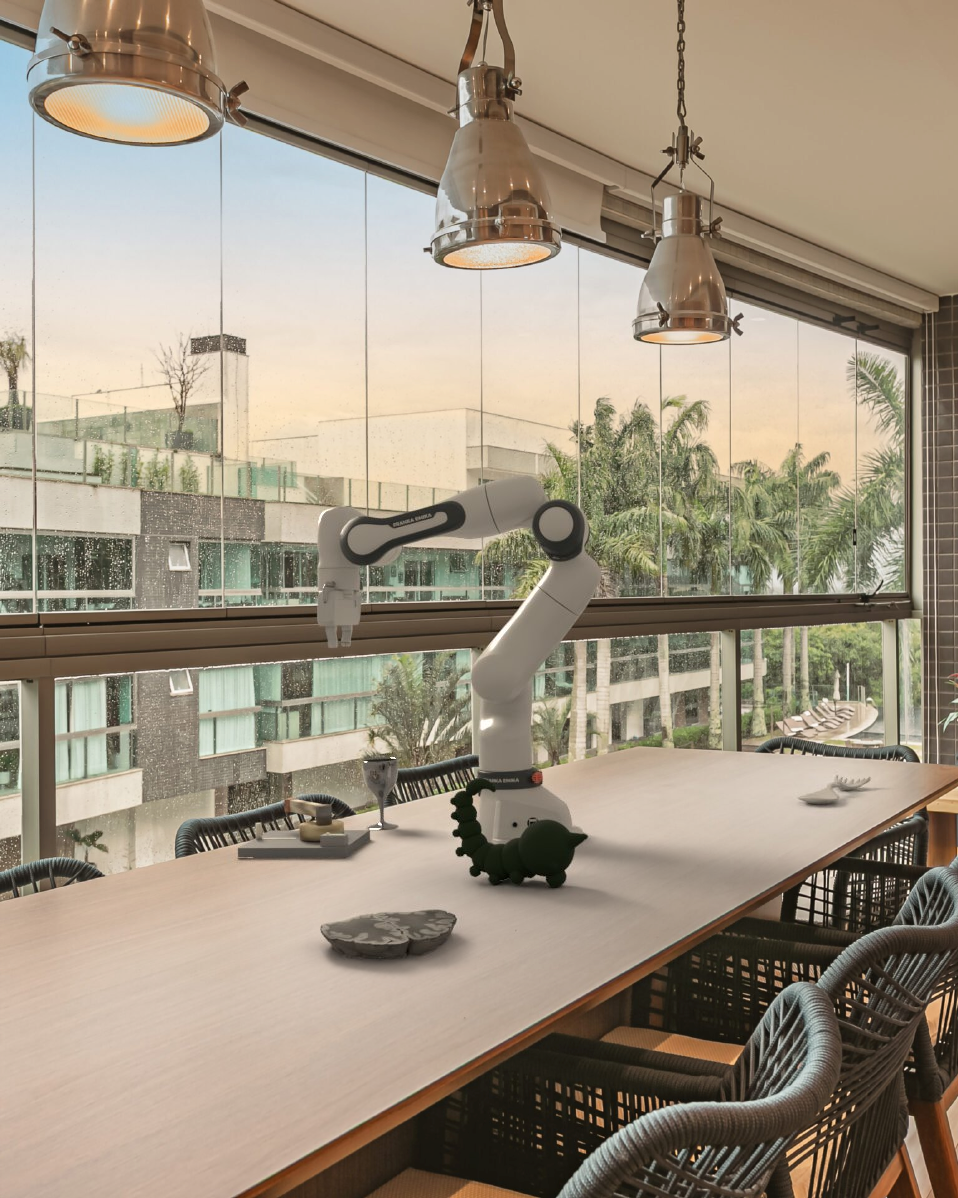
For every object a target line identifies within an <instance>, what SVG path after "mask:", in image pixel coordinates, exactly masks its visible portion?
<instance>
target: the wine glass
mask: <svg viewBox="0 0 958 1198" xmlns="http://www.w3.org/2000/svg"><path fill="white" fill-rule="evenodd" d="M361 764H362V765H361V767H362V775H363V780H364V783H365V786H366V787H367V788H368V790H369V791H370V792H371V793H372V794H373V796H374V797H375V798H376V800H377V802H378V807H379V815H380V817H379V818H380V819H379V820H380V821H379V822H377V823H375V824H371V825H368V826H369V827H368V826H367V827H368V828H369V829H368V830H370V831H387V830H388V831H389V830H394V829H396V828H399V825H398V824H394V823H389V822H387V821H385V819H384V817H385V816H384V814H385V813H384V812H385V811H384V810H385V803H386V802H385V801H386V799H387V797H388V795H389V794H390V793H391V791H392V790H393V789H394V787H395V785H396V784H397V780H398V775H399V773H398V772H399V759H398V757H391V756H384V757H383V756H379V757H370V758H364V759H362V760H361Z"/></svg>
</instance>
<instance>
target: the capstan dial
mask: <svg viewBox="0 0 958 1198" xmlns="http://www.w3.org/2000/svg"><path fill="white" fill-rule="evenodd" d="M283 802H284V812H285V813H295V814H300V815H303V816H304V815H305V816H309V817H314V818H315V820H309V821H305V822H301V823H299V825H298V828H299V829H298V830H299V835H300V839H301V840H305V841H320V836H321V835H323V834H326V833H327V832H329V833H330V834H344V830H345V822H344V821H342V820H339V819H338V820H337V819H333V812H332V804H331V803H330V804H328V803H325V804H323V803H318V802H312V801H306V800H302V799H298V798H296V797H291V798H284V799H283Z"/></svg>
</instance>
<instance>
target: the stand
mask: <svg viewBox="0 0 958 1198" xmlns="http://www.w3.org/2000/svg"><path fill="white" fill-rule="evenodd" d="M262 827H263V826H262V822H255V838H254V839H252V840H250V841H248V842H246V843H244V844H242V845H241V846H239V847H237V858H238V857H253V858H252V859H346V858H348V857H349V856H351V855H352V854H353V853H354V852H356V851H357V850H358V849H360V848H361V847H362V846H364V845H365V844H366V843H368V842H369V841H371V830H369V829H363V830H362V829H349V830H348V829H344V834H330V833H329V832H327V833H326V834H323V835H321V836H320V841H305V840H301V839H300V835H299V829H298V830H296V829H294V830H291V829H290V830H269V831H266V832H265V833H263V831H262V829H263V828H262ZM262 833H263V834H262Z"/></svg>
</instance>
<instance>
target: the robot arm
mask: <svg viewBox="0 0 958 1198" xmlns="http://www.w3.org/2000/svg"><path fill="white" fill-rule="evenodd" d="M518 529H529V530H531V531H532V535H533V537H534V540H535V541H536V543H537V544H538V546H539V547H540V548H541V549H542V550H543V552H544V553H545V555H546V556H547V558H548V559H549V561H550V562H549V565H548V568H547V570H546V571H545V572H544V574H543V576H542V577H541V578H540V579H539V581H538V582H537V583H536V585H535V586H534V587H533V588H532V590H531V591H530V593H529V594H528V595H527V597H526V598H525V599H524V600H523V602H522V604H521V605H520V606H519V608H518V609H517V610H516V612H514V614H513V616H512V617H511V618H510V619H509V620H508V621H507V622H506V624H505V625H503V627H502V628H501V629H500V631H499V632H498V633H497V634H496V635H495V637H494V638H493V639H492V640H491V642H490V643H489V644H488V645H487V647H485V649H484V650H483V652H482V653H481V654H480V655H479V657H478V658H477V659H476V660H475V662H474V664H473V665H472V668H471V672H470V682H471V685H472V688H473V690H474V692H475V693H476V695H477V696H478V697H480V707H479V721H478V729H477V745H478V747H477V748H478V769H477V770H476V773H477V774H476V778H483V779H487V780H489V781H490V782H491V783H492V784H493V785H494V786H495V788H496V791H495V792H492V791H491V790H489V789H482V790H481V791H480V792H479V793H477V795H478V797H479V798H478V800H479V801H478V811H477V818H476V820H478V821H479V823H480V825H481V828H482V832H481V833H482V834H483V835H484V836H485V837H486V839H487V841H488V843H491V844H494V845H495V844H506V843H507V842H509V841H510V840H512V839H514V838H520V837H521V835H522V833H523V832H524V830H525V829H526V828H527V827H528V826H530V825H531V824H532V823H534V822H536V821H539V820H545V819H549V820H554V821H557V822H559V823H561V824H562V825H564V826H565V827H566V828H567V829H568V830H569V831H570V832H572V833H580V834H584V832H583V828H582V827H581V826H578V825H573V821H572V820H573V819H572V816H571V812H570V809H569V806H568V804H567V803H566V802H565V801H564V800H563V799H561V798H560V797H559V796H557V795H555V794H554V793H553V792H552V791H550V790H549V789H548V788H546V787H544V786H543V781H544V778H543V777H544V775H543V771H542V770H541V769H537V768H536V767H534V766H533V752H532V751H533V750H532V747H533V746H532V716H533V712H532V711H533V677H534V676H535V675H536V673H537V672H538V670H539V669H540V668H541V667H542V665H543V664H544V663H545V661H546V660H547V659H548V658H549V656H551V654H552V653H553V652H554V651H555V649H557V647H558V646H559V645H560V643H561V642H562V641H563V639H564V638H565V637H566V636H567V634H568V632H569V631H570V630H571V628H572V627H573V626H574V625H575V624H576V621H577V620H578V619H579V617H580V616H581V615H582V613H583V612H584V611H585V609H586V608H587V607H588V605H589V603H590V602H591V600H592V598H593V596H594V594H595V593H596V591H597V590H598V587H599V585H600V582H601V579H602V571H601V569H600V566H599V565H598V563H597V562H596V560H595V559H593V557H591V556H590V555H589V554H588V553H587V551H586V549H585V548H586V545H587V544H588V542H589V539H590V537H591V536H590V535H591V527H590V524H589V521H588V518H587V516H586V514H585V512H584V511H583V509H581V508H580V507H579V506H578V505H576V504H575V503H573V502H572V501H569V500H566V499H560V498H558V499H557V498H556V499H551V500H550V499H549V498H548V497H547V494H546V492H545V489H544V487H543V486H542V483H541V482H540V481H539V480H538V479H537V478H536V477H535V476H531V475H527V474H526V475H517V476H509V477H503V478H499V479H495V480H491V481H487V482H485V483H481V484H479V485H475V486H473V487H471V488H468V489H466V490H463V491H461V492H458V493H457V494H455V495H452V496H450V497H448V498H445V499H444V500H442V501H439V502H436V503H435V504H432V505H428V506H426V507H422V508H418V509H415V510H411V511H406V512H404V513H401V514H397V515H392V516H389V517H382V518H381V517H375V516H369V515H366V514H364V513H363V512H361V511H359V510H358V509H356V508H355V507H354V506H352V505H342V506H341V505H340V506H339V505H338V506H333V507H331V508H328V509H325V510H324V511H322V513H320V516H319V519H318V524H317V536H316V537H317V538H316V539H317V540H316V541H317V544H316V545H317V546H316V547H317V552H318V556H319V557H318V558H319V560H318V565H317V591H318V595H317V611H316V612H317V613H316V616H317V617H316V620H317V624H318V626H319V627H325V629H324V630H325V634H326V638H327V648H329V649H336V648H337V649H338V647H339V639H338V636H337V634H338V633H337V631H338V626H339V627H341V631H342V633H341V634H342V635H341V638H340V646H341V647H344V648H345V647H350V646H351V645H352V644H351V643H352V642H351V641H352V636H353V635H352V634H353V631H354V629H353V626H358V625H359V624H360V620H361V615H362V614H361V613H362V611H361V610H362V593H361V592H363V591H364V583H363V580H362V579H361V576H360V567H361V566H362V567H364V566H371V567H385V566H388V565H390V564H393V563H394V562H396V561H397V560H398V559H399V557H400V556H401V554H402V552H403V549H404V548H403V547H404V546H407V545H411V544H414V543H417V542H421V541H425V540H428V539H432V538H433V539H434V538H442V537H443V538H444V537H445V538H446V537H447V538H458V539H465V540H474V539H476V540H477V539H483V538H490V537H493V536H494V537H495V536H497V535H500V534H505V533H507V532H510V531H514V530H518Z"/></svg>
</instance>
